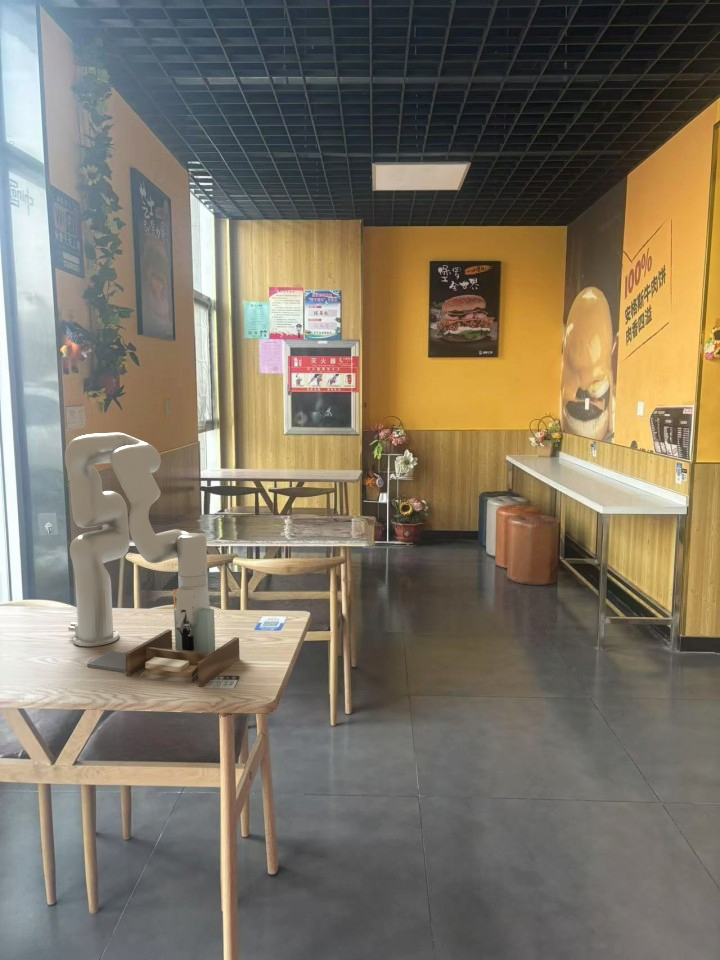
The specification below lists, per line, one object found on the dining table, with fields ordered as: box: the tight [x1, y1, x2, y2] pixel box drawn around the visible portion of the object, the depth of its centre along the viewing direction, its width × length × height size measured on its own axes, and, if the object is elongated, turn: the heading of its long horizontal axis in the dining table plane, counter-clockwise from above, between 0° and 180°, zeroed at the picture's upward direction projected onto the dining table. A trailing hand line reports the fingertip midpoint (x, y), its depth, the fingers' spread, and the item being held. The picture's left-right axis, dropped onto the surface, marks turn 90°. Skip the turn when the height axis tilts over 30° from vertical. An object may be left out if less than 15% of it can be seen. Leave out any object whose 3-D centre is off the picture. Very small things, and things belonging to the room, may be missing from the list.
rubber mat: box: [86, 650, 126, 673], centre depth 191 cm, size 13×10×1 cm
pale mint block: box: [173, 608, 216, 654], centre depth 192 cm, size 10×4×14 cm, turn 72°
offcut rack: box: [125, 629, 241, 688], centre depth 187 cm, size 22×19×6 cm
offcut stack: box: [140, 657, 198, 684], centre depth 182 cm, size 14×5×4 cm, turn 76°
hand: (195, 644), depth 192 cm, fingers open, 6 cm apart
